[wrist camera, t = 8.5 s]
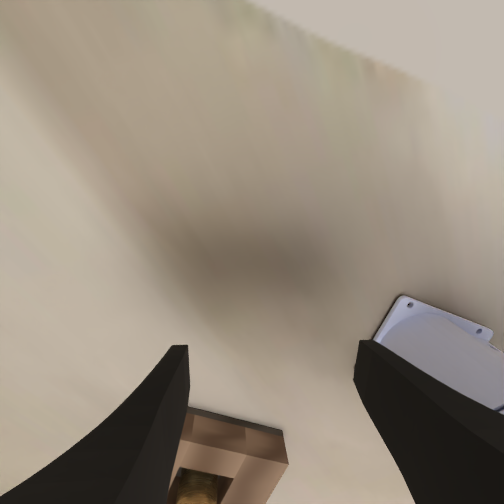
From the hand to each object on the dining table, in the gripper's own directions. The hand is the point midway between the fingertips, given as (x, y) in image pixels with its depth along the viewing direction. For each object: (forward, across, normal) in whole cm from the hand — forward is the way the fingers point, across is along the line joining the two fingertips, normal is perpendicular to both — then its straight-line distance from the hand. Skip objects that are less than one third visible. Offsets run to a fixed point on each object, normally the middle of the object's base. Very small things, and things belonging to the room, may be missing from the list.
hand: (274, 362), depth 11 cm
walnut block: (+9, +4, +18) cm, 21 cm away
